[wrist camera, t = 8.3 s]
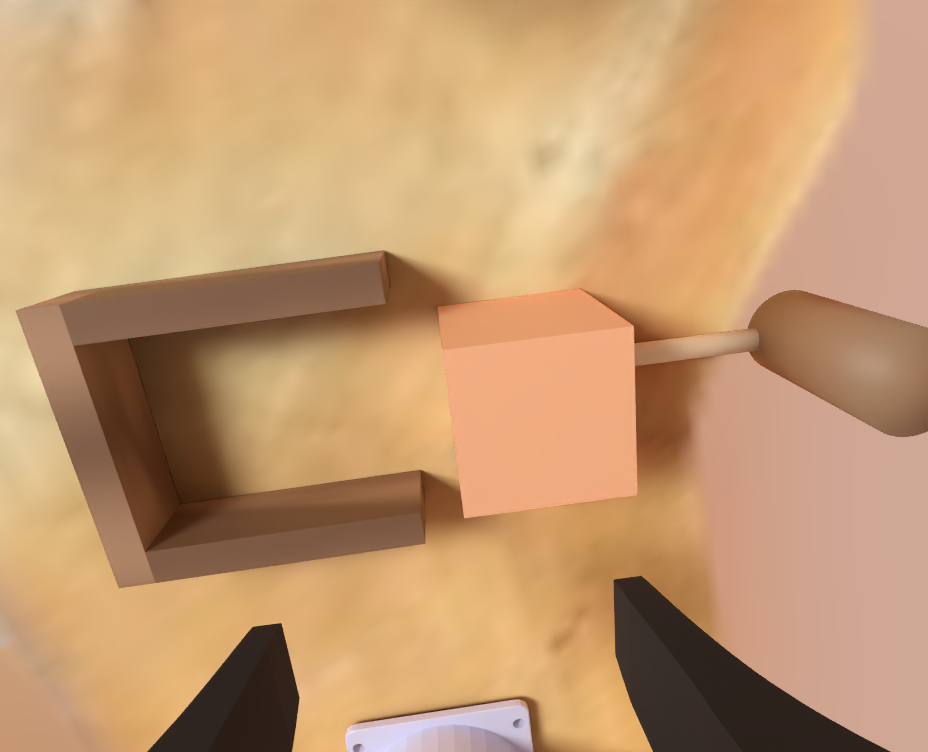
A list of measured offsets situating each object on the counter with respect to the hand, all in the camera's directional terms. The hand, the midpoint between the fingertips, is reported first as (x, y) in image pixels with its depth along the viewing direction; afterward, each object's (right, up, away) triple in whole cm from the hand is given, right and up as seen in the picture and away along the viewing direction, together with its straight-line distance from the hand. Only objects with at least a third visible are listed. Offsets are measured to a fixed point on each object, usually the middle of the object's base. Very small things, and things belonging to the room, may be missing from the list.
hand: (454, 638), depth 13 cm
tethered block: (+6, +7, +9) cm, 13 cm away
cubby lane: (-6, +5, +8) cm, 11 cm away
